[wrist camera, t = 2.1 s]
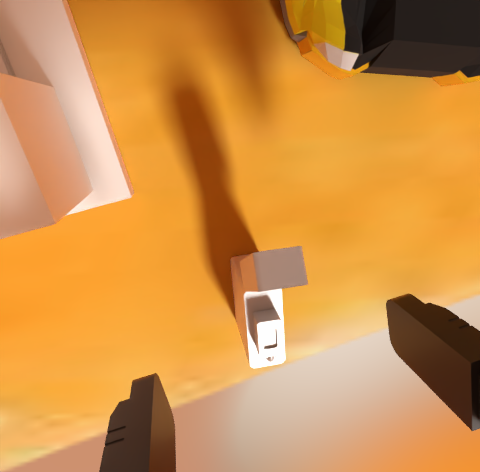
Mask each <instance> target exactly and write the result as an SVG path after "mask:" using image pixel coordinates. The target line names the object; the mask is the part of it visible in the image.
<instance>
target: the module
mask: <svg viewBox="0 0 480 472" xmlns="http://www.w3.org/2000/svg"><path fill="white" fill-rule="evenodd" d="M93 191H94V190H93V187H92V185H91V182H90V180H89V177H88V174H87V172H86V169H85V167H84V164H83V161H82V159H81V156H80V154H79V151H78V149H77V146H76V143H75V141H74V138H73V136H72V133H71V130H70V128H69V125H68V123H67V120H66V118H65V115H64V112H63V110H62V107H61V105H60V102H59V99H58V97H57V94H56V92H55V89H54V87H51V86H47V85H44V84H40V83H36V82H32V81H29V80H25V79H21V78H18V77H14V76H10V75H7V74H3V73H0V239H2V238H6V237H10V236H13V235H17V234H21V233H24V232H28V231H31V230H35V229H39V228H42V227H46V226H50V225H53V224H56V223H57V222H58V221H59V220H60V219H62V218H63V217H64V216H65V215H66V214H67V213H69V212H70V211H71V210H72V209H73V208H74V207H75V206H77V205H78V204H79V203H80V202H81V201H82V200H83V199H85V198H86V197H87V196H88V195H89V194H90V193H92V192H93Z"/></svg>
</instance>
